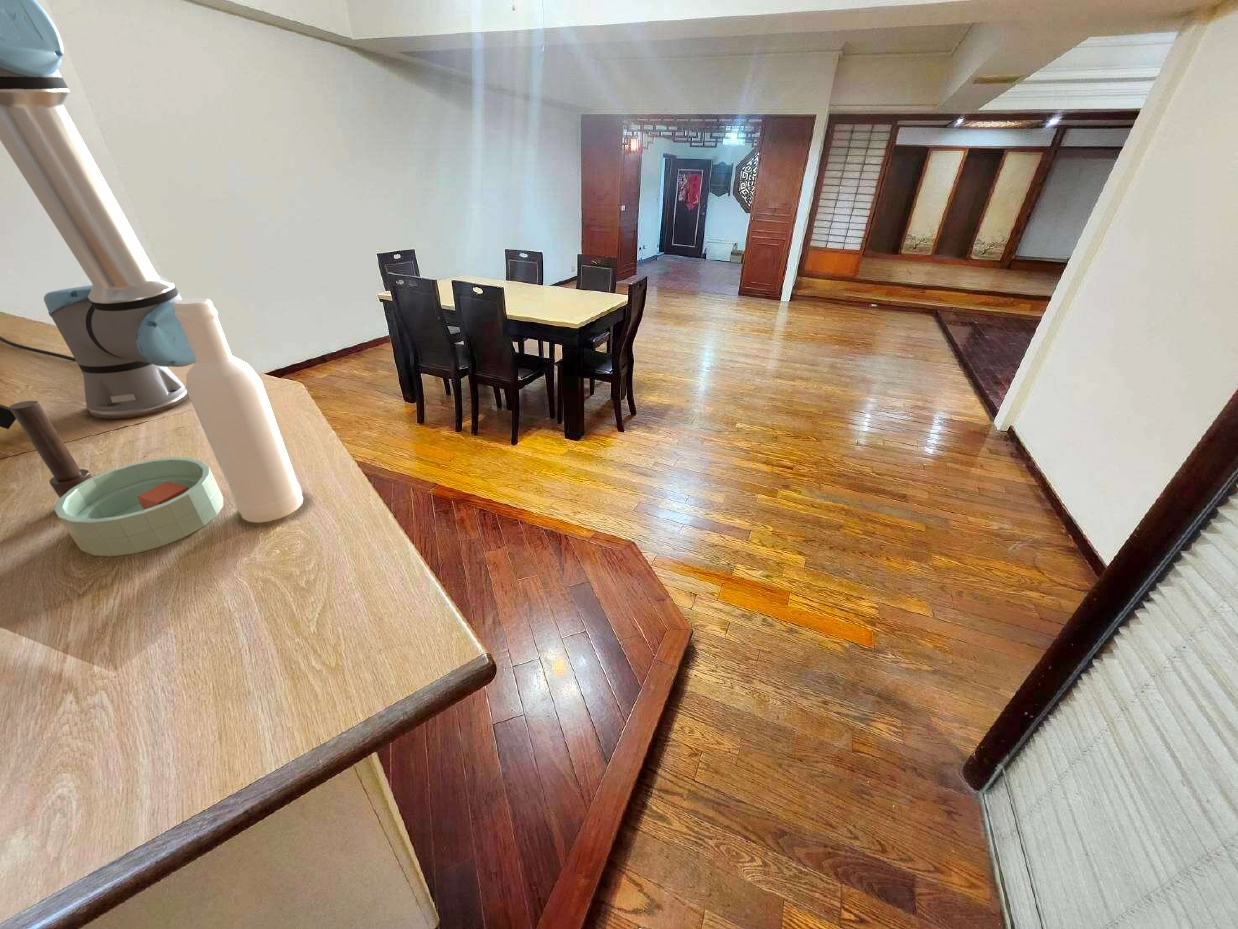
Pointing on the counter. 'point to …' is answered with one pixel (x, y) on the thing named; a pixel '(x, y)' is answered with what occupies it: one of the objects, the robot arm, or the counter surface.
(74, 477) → the pestle
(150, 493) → the block
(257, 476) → the bottle
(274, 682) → the counter surface
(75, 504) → the bowl
